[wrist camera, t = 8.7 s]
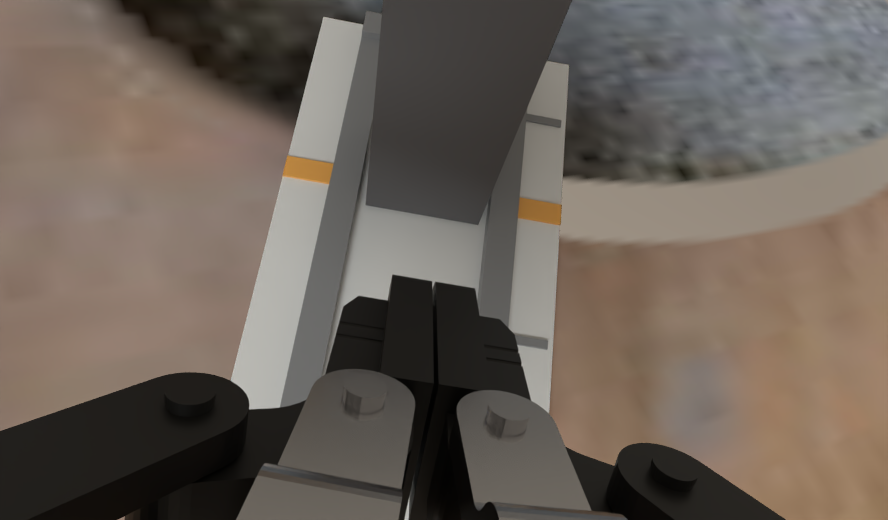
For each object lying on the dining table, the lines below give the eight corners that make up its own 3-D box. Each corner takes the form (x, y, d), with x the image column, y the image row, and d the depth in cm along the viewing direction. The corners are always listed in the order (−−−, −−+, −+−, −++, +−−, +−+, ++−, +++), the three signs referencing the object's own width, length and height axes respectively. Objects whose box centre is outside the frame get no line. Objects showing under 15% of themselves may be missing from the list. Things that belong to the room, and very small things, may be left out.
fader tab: (478, 225, 25) (578, -15, 14) (365, 205, 24) (387, -55, 14) (486, 153, 26) (583, -112, 16) (379, 133, 25) (408, -151, 15)
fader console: (523, 688, 20) (542, 700, 18) (170, 645, 19) (153, 653, 17) (561, 80, 29) (576, 48, 27) (323, 34, 28) (323, -2, 27)
